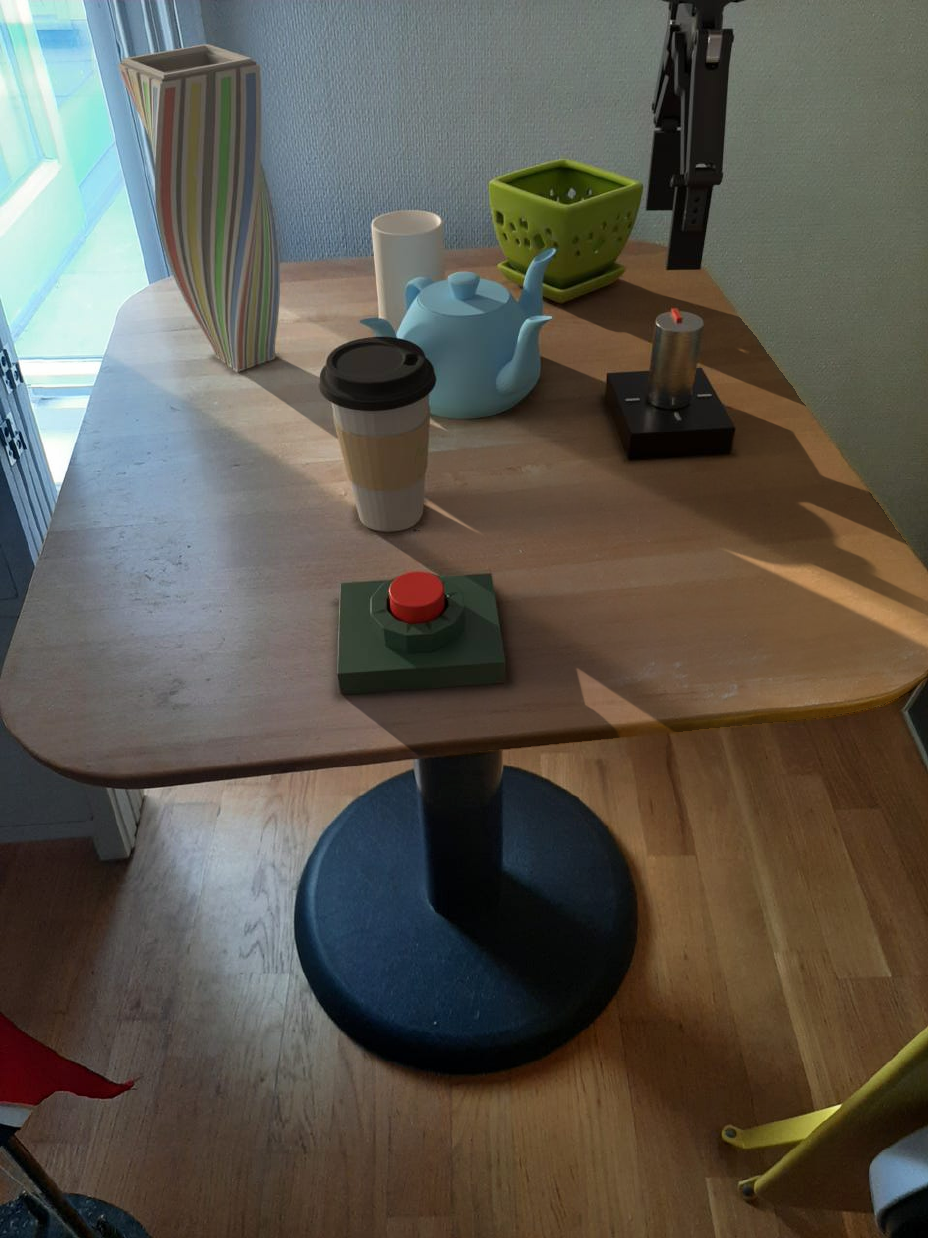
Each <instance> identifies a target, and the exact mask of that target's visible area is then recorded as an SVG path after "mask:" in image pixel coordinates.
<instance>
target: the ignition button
mask: <svg viewBox="0 0 928 1238" xmlns="http://www.w3.org/2000/svg"><path fill="white" fill-rule="evenodd" d="M430 573H431V572H427V573H426V572H425V571H409V572H406V573H402V574H403V575H402V574H400V575H401V576H400V575H398V576H399V577H398V576H396V577H397V578H396V577H395V578H396V579H395V580H394V581H393V582H392V583H391V585H390V588H389V597H390V607H391V612H392V613H393V615H394V616H395V617H396V618H397V619H398V620H400V621H402V622H405V623H408V624H418V623H428V622H430V621H432V620H435V619H436V618H438V617H439V616H440V615H441V613H442V612H443V610H444V606H445V603H444V587H443V584H442V582H441V580H440V579H439V578H437V577H436V576H435V575H436V574H435V575H432V574H433V573H431V574H430Z"/></svg>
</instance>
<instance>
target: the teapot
mask: <svg viewBox="0 0 928 1238" xmlns="http://www.w3.org/2000/svg"><path fill="white" fill-rule="evenodd" d="M555 252H556V249H555V248H551V249H548V250H545V251H543V252H542V253H540V254H539V255H538V256H537V257H535V258H534V260H533V261H532V262H531V264H530V266H529V268H528V270H527V273H526V276H525V280H524V284H523V287H522V289H521V293H520V296H519V299H518V300H517V299H516V298H515V297H514V296H513V294H512V293H511V291H510V290H509V289H507V288H506V287H505V286H504V285H502V284H500V283H499V282H497V281H493V280H490V279H486V278H481V276H480V275H479V274H477V273H476V272H471V271H457V272H454V273H451V274H449V275H448V277H447V279H446V278H445V280H442V281H439V282H436V283H434V282H433V281H432V280H431V279H429V278H427V277H417V278H415V279H412V280H411V281H409V282H408V284H407V285H406V288H405V302H406V308H407V313H406V315H405V317H404V319H403V321H402V323H401V325H400V327H399V329H398V332H397V334H396V333H395V331H394V329H393V327H392V326H391V324H390V323H389V322H388V321H386V320H385V319H382V318H379V317H368V318H363V319H360V320H359V323H360V324H362V325H364V326H366V327H368V328H370V329H371V330H372V331H373V332H374V334H375V337H394V338H400V339H404V340H407V341H410V342H412V343H414V344H416V345H418V346H419V347H420V348H421V349H422V350H423V352H424V354H425V357H426V358H427V359H428V360H429V361H430V362H431V363H432V365H433V367H434V373H435V375H436V384H435V387H434V388H433V390H432V391H431V392H430V393H429V406H430V415H434V416H437V417H441V418H447V419H454V420H455V419H456V420H470V419H471V420H472V419H481V418H486V417H492V416H495V415H498V414H501V413H504V412H506V411H508V410H510V409H512V408H513V407H515V406H517V404H519V403H520V402H521V401H522V400H523V399H525V397H527V395H528V394H530V392H532V390H533V389H534V388H535V386H536V385H537V383H538V381H539V379H540V376H541V371H542V365H541V364H542V363H541V361H542V360H541V353H540V347H539V338H540V337H539V336H540V331H541V329H542V328H543V326H544V325H545V324H547V323H548V322H549V321H551V320H552V319H553V316H551V315H544V299H543V298H544V296H543V293H542V287H543V277H544V272H545V270H546V267H547V265H548V263H549V262H550V260H551V258H552V257H553V256H554V254H555Z"/></svg>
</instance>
